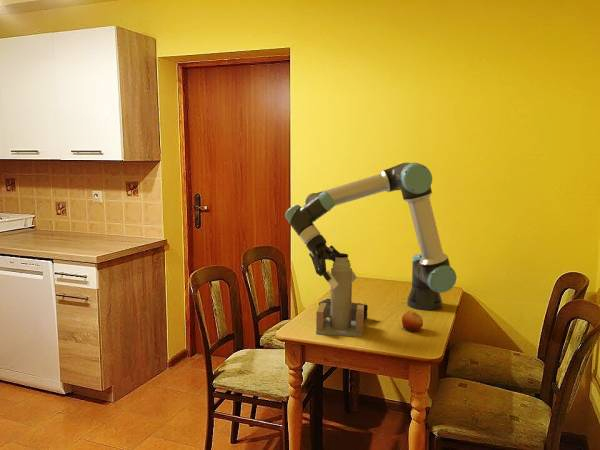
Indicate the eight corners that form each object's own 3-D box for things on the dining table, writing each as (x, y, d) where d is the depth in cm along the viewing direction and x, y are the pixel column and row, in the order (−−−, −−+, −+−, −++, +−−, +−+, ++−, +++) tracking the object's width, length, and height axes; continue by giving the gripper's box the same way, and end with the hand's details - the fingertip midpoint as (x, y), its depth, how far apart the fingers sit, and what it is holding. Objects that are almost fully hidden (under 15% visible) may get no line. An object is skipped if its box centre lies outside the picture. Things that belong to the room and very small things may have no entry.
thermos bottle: (352, 323, 200) (353, 252, 196) (349, 330, 192) (351, 256, 189) (331, 321, 202) (332, 251, 198) (328, 328, 194) (329, 255, 190)
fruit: (403, 320, 203) (413, 305, 200) (418, 334, 200) (429, 319, 196) (393, 325, 197) (403, 310, 193) (408, 340, 193) (419, 324, 190)
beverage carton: (327, 311, 220) (327, 296, 219) (368, 319, 210) (368, 303, 209) (317, 316, 214) (318, 300, 213) (360, 324, 203) (360, 308, 202)
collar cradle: (363, 324, 203) (364, 304, 201) (361, 336, 189) (362, 315, 188) (320, 321, 205) (320, 301, 204) (315, 333, 192) (316, 312, 191)
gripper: (325, 241, 212) (356, 282, 205) (288, 250, 192) (321, 296, 185) (336, 229, 208) (368, 271, 201) (299, 237, 188) (333, 284, 182)
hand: (345, 283), depth 193 cm, fingers open, 13 cm apart
